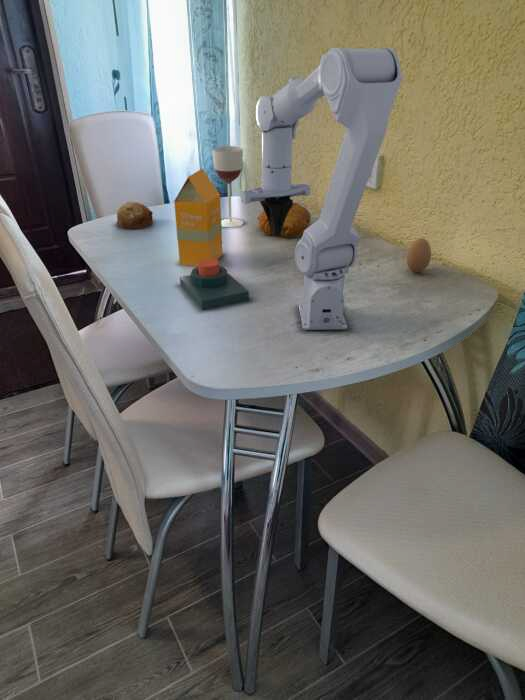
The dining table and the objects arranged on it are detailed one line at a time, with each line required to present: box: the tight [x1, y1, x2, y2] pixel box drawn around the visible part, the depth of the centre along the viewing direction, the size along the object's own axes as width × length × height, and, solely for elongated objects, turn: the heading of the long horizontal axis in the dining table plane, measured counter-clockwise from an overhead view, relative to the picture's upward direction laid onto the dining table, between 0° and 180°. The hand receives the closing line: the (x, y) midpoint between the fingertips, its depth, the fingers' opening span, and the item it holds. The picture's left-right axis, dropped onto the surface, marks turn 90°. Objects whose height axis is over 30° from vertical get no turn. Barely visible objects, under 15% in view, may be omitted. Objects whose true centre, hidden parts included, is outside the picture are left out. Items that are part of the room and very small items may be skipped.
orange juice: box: [173, 168, 224, 267], centre depth 115 cm, size 8×9×20 cm
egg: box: [405, 237, 432, 274], centre depth 112 cm, size 5×5×8 cm
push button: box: [197, 259, 221, 276], centre depth 103 cm, size 4×4×2 cm
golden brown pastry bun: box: [257, 202, 312, 238], centre depth 138 cm, size 14×16×8 cm
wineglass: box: [212, 145, 244, 228], centre depth 139 cm, size 8×9×20 cm
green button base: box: [179, 265, 250, 311], centre depth 103 cm, size 13×10×4 cm
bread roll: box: [116, 201, 154, 230], centre depth 142 cm, size 10×10×8 cm
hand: (275, 234), depth 104 cm, fingers closed
